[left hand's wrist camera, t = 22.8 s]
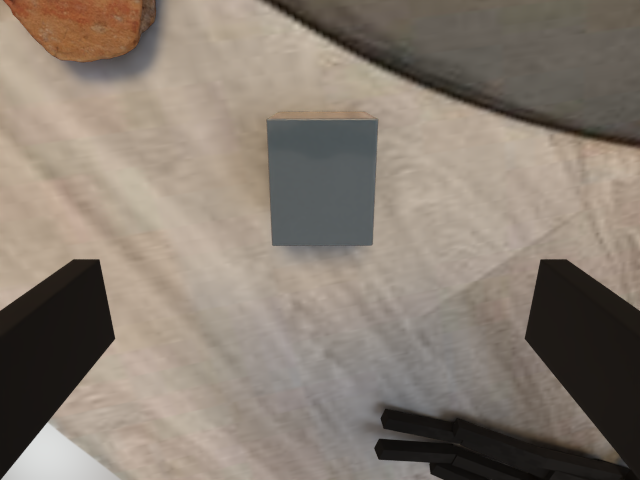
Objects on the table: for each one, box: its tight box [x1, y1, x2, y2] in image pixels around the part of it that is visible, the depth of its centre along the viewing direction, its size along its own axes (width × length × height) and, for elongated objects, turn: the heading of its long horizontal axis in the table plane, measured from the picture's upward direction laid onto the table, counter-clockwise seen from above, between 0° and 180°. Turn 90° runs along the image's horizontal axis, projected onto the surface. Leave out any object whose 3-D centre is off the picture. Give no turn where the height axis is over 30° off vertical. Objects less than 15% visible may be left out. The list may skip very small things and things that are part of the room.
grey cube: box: [267, 112, 378, 246], centre depth 30 cm, size 7×8×8 cm
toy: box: [374, 409, 639, 480], centre depth 43 cm, size 10×5×30 cm
